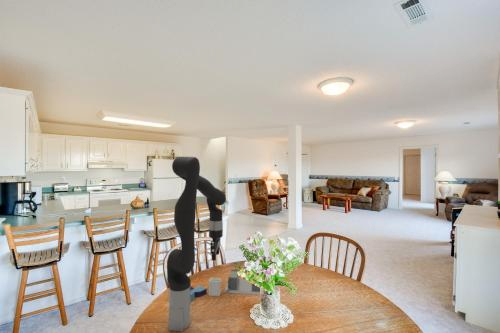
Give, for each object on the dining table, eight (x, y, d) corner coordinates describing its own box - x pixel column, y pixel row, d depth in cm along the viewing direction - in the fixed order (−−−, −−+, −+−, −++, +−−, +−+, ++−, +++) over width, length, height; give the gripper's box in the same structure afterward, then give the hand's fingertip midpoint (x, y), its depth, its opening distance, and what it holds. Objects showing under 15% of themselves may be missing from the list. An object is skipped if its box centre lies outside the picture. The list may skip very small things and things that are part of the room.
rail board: (263, 295, 137) (264, 281, 137) (224, 292, 138) (224, 278, 138) (264, 282, 151) (264, 270, 150) (228, 280, 152) (228, 268, 152)
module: (219, 296, 135) (219, 281, 135) (208, 295, 135) (208, 280, 135) (221, 292, 139) (221, 277, 138) (210, 291, 139) (210, 277, 139)
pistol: (208, 293, 138) (187, 305, 126) (190, 285, 147) (169, 295, 135) (209, 286, 138) (187, 297, 126) (190, 278, 147) (169, 287, 135)
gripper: (219, 232, 129) (219, 262, 129) (224, 225, 143) (224, 252, 143) (205, 231, 129) (205, 262, 130) (212, 224, 144) (211, 252, 144)
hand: (215, 257), depth 137 cm, fingers open, 8 cm apart
